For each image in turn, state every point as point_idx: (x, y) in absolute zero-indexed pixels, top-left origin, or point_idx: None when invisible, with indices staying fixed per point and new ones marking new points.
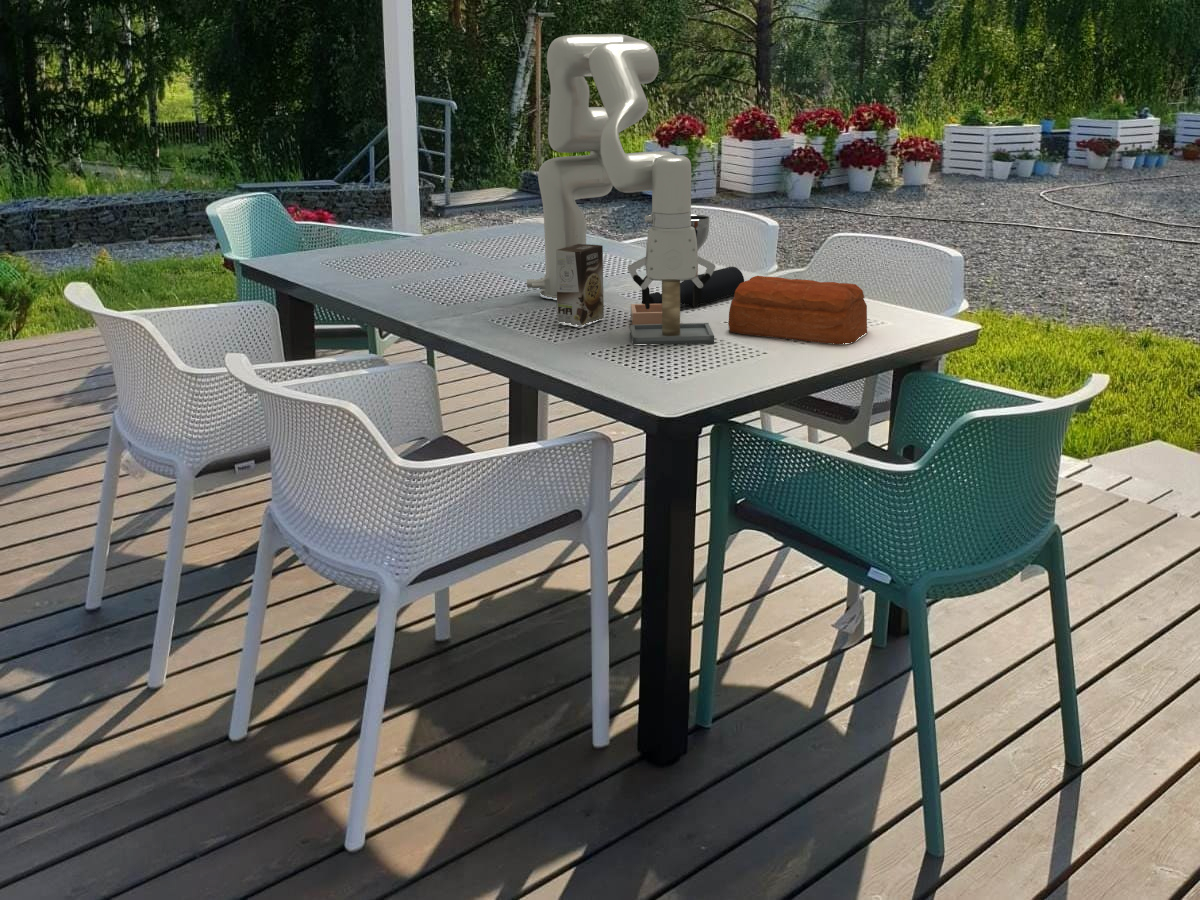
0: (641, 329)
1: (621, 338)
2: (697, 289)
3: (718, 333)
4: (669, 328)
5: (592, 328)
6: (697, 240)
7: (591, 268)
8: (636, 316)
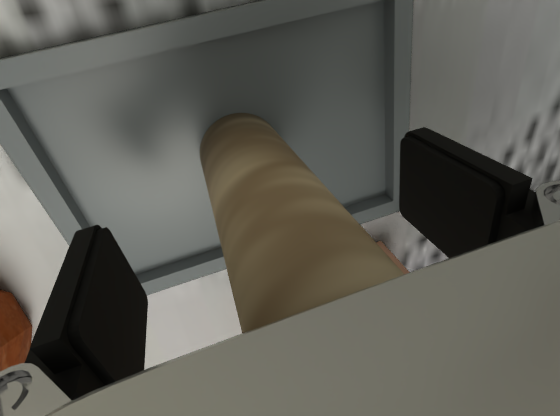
0: (361, 197)
1: (425, 105)
2: (42, 337)
3: (51, 258)
4: (249, 123)
5: None
6: None
7: None
8: None
